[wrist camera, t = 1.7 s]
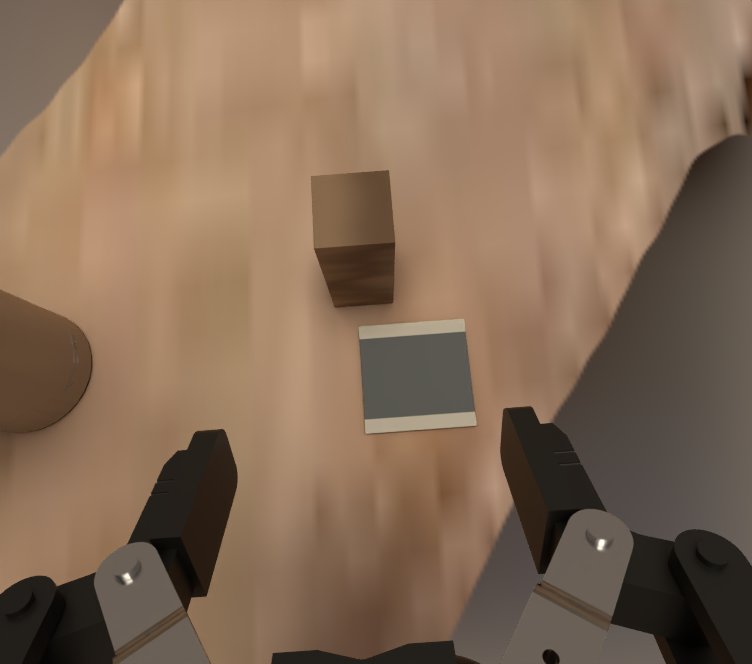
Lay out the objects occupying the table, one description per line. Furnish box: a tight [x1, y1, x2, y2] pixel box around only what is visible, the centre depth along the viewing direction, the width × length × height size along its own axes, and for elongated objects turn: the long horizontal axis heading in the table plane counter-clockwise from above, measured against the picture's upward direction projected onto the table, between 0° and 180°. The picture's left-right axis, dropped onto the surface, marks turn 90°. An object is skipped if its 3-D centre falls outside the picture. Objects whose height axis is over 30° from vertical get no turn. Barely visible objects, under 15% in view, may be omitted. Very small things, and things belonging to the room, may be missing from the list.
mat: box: [359, 319, 477, 434], centre depth 36 cm, size 8×8×1 cm
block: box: [311, 170, 395, 307], centre depth 33 cm, size 4×4×11 cm
